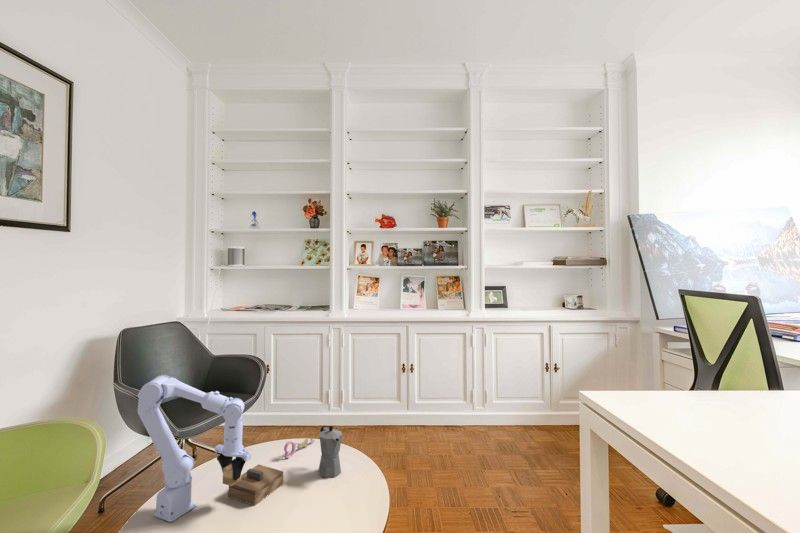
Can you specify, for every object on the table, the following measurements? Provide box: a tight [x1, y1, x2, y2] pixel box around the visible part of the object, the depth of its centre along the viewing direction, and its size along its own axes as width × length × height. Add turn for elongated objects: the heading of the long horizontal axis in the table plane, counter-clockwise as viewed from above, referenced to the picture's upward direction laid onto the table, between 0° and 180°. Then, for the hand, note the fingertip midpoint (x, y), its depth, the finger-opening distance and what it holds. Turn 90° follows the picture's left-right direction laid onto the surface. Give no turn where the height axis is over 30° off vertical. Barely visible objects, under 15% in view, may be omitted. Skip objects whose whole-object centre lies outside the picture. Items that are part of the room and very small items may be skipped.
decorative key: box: [283, 438, 316, 459], centre depth 164 cm, size 7×1×20 cm
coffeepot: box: [318, 425, 343, 479], centre depth 147 cm, size 15×9×18 cm, turn 36°
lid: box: [231, 464, 284, 494], centre depth 133 cm, size 14×12×4 cm
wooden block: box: [222, 464, 242, 487], centre depth 125 cm, size 4×4×5 cm
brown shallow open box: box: [227, 474, 284, 506], centre depth 133 cm, size 14×12×3 cm
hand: (231, 477), depth 125 cm, fingers closed on wooden block, 4 cm apart
